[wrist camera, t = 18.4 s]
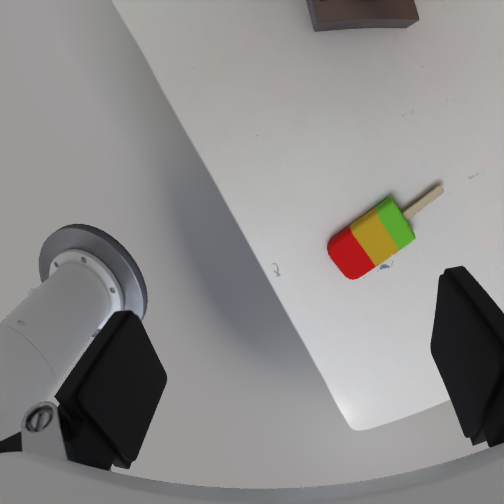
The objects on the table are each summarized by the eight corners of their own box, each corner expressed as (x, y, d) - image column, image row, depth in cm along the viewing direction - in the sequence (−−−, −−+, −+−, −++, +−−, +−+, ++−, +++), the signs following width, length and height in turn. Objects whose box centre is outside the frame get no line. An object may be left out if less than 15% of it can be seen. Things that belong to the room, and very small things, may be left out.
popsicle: (321, 243, 36) (323, 250, 34) (427, 165, 30) (434, 169, 29) (348, 277, 37) (351, 285, 35) (449, 204, 32) (456, 209, 30)
